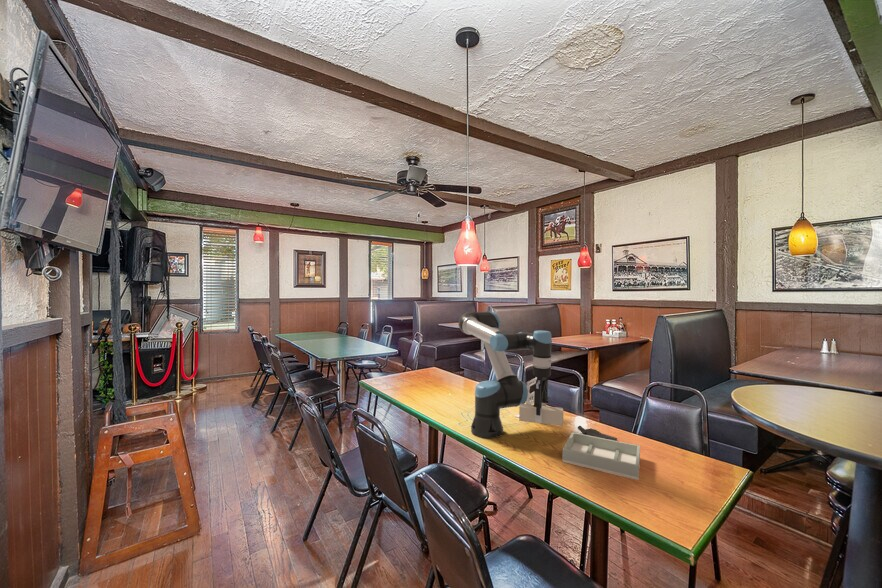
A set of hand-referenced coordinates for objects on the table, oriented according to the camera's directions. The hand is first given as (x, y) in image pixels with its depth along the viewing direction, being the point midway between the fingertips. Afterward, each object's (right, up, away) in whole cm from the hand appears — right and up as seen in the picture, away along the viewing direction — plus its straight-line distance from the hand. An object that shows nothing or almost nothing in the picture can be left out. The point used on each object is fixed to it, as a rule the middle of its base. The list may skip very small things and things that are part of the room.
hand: (540, 419), depth 152 cm
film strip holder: (+5, -12, +37) cm, 39 cm away
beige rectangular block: (0, -1, 0) cm, 1 cm away
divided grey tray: (+21, -11, -13) cm, 27 cm away
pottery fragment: (+28, -12, +8) cm, 32 cm away
